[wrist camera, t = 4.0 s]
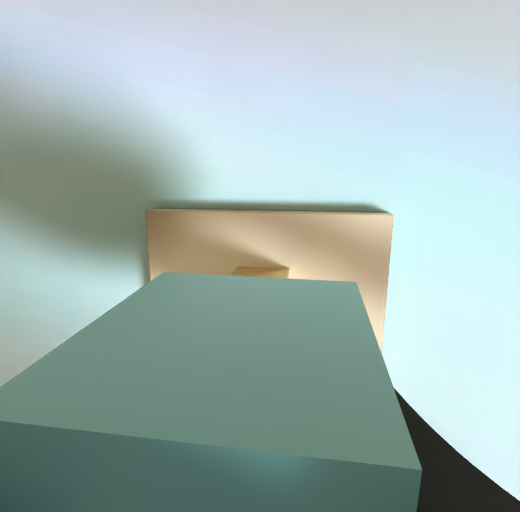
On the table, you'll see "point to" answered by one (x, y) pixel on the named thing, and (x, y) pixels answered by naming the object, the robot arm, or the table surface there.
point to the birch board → (278, 247)
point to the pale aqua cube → (212, 406)
